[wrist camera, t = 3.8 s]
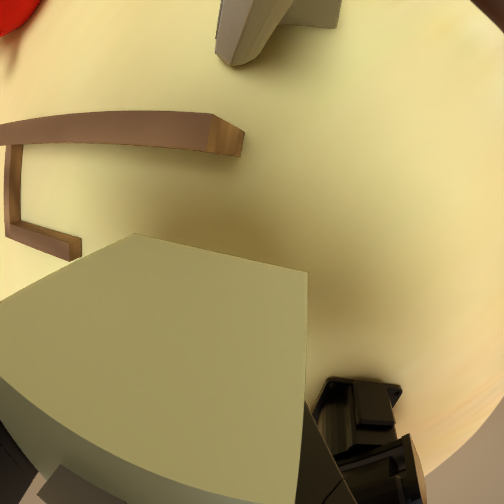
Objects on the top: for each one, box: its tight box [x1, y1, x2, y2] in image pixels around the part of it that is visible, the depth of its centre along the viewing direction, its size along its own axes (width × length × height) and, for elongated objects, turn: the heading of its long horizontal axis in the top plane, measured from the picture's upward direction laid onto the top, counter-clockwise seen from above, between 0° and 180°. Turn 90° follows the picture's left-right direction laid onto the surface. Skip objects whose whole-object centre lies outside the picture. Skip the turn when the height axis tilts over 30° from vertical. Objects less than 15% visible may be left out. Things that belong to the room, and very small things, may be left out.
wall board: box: [0, 111, 245, 262], centre depth 16 cm, size 10×23×6 cm, turn 80°
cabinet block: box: [0, 234, 308, 504], centre depth 5 cm, size 6×5×7 cm
